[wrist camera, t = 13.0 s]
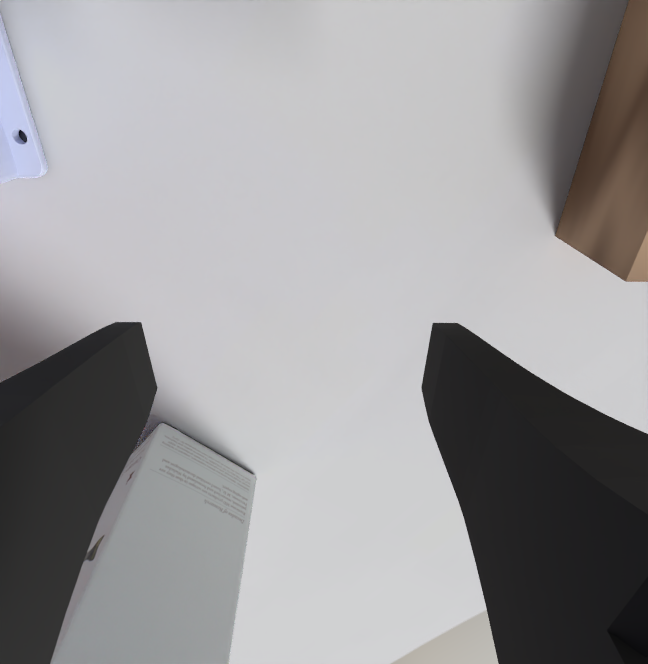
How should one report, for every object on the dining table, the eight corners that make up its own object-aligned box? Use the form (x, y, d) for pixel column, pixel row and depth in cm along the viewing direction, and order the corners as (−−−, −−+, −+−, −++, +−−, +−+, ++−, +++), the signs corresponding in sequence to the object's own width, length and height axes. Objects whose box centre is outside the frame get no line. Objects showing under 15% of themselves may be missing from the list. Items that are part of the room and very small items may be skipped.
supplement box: (161, 416, 24) (35, 693, 13) (260, 475, 27) (224, 744, 16) (97, 479, 27) (-51, 753, 16) (193, 527, 29) (123, 787, 19)
